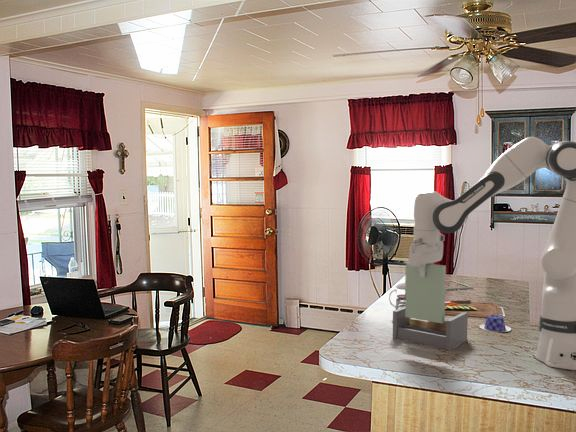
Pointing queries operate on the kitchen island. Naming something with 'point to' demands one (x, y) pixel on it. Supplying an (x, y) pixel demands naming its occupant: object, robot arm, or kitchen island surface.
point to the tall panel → (426, 293)
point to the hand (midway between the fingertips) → (425, 276)
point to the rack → (431, 331)
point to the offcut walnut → (438, 326)
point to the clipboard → (460, 287)
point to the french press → (401, 297)
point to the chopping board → (471, 308)
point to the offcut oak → (419, 323)
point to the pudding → (495, 324)
